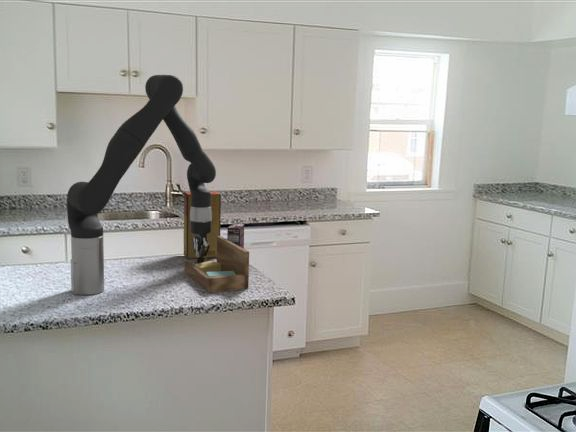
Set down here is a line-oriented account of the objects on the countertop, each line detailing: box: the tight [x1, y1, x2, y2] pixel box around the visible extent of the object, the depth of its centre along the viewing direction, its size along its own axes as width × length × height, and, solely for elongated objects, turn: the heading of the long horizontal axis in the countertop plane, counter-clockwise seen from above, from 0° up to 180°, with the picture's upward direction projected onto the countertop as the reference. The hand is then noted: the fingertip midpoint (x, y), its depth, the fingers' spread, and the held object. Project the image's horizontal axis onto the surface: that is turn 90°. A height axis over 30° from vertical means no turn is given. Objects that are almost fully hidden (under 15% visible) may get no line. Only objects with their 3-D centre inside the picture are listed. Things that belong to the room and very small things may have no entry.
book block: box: [206, 271, 236, 277], centre depth 190 cm, size 9×6×4 cm, turn 107°
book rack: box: [183, 235, 250, 293], centre depth 194 cm, size 13×26×12 cm, turn 27°
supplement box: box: [226, 223, 245, 249], centre depth 209 cm, size 9×5×16 cm, turn 174°
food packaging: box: [183, 190, 222, 260], centre depth 226 cm, size 13×9×25 cm
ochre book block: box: [193, 260, 221, 274], centre depth 203 cm, size 9×6×4 cm, turn 137°
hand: (200, 267), depth 207 cm, fingers closed
